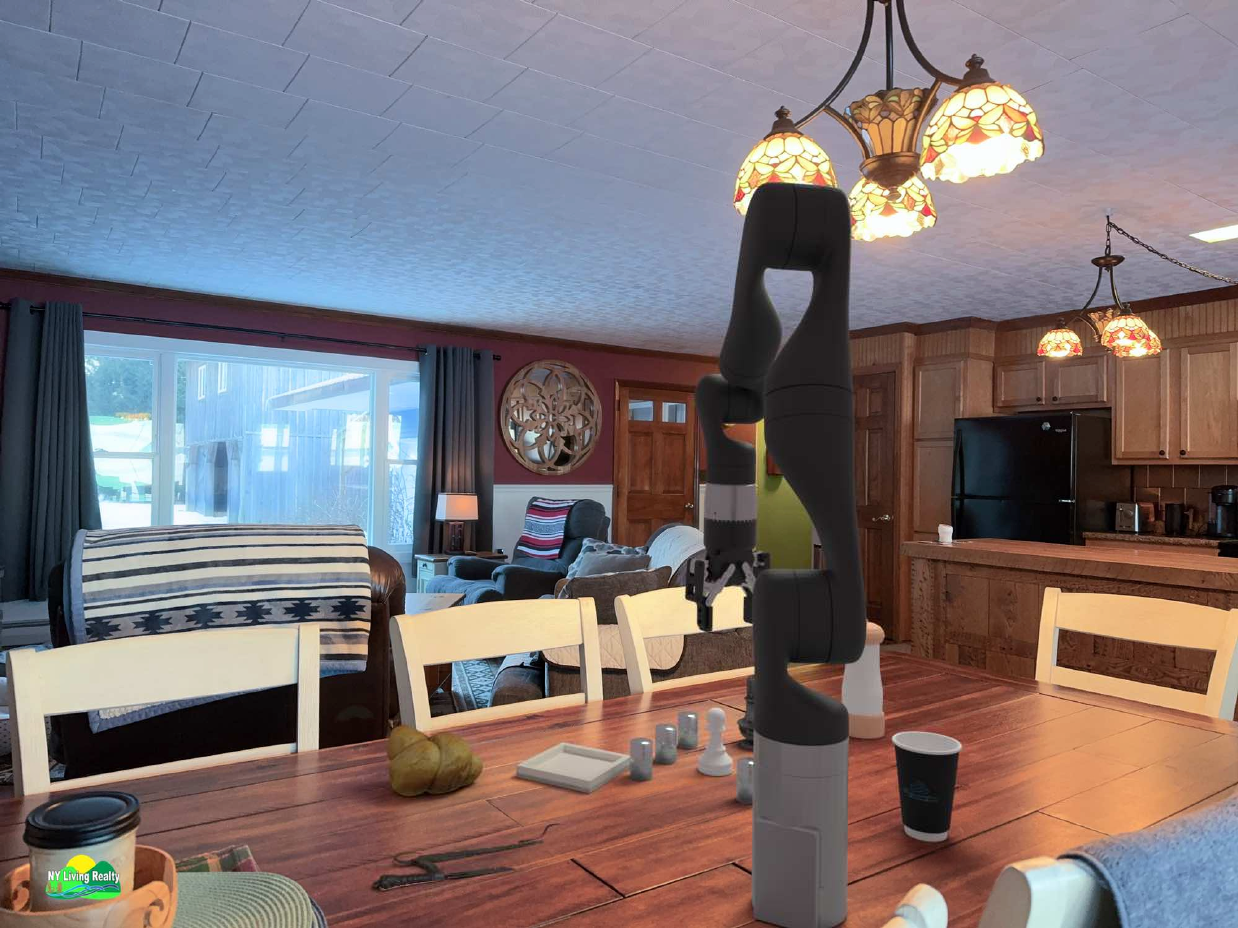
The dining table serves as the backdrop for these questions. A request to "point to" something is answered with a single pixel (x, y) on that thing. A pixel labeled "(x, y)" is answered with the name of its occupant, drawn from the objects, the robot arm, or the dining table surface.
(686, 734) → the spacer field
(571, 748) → the square tray
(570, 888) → the dining table surface
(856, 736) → the pepper shaker
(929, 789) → the dixie cup
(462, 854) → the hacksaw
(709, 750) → the chess pawn
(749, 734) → the grey chess piece
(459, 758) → the bread roll
